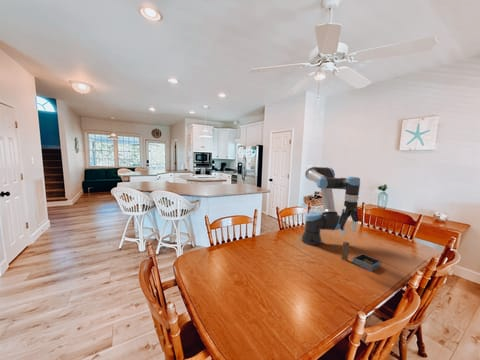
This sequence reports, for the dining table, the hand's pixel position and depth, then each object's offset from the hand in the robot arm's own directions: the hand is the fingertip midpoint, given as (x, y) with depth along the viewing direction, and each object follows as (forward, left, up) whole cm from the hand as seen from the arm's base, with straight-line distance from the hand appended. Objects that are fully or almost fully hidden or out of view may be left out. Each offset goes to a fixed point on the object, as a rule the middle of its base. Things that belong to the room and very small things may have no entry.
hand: (347, 232), depth 133 cm
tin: (+11, +6, -19) cm, 22 cm away
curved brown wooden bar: (0, 0, -19) cm, 19 cm away
